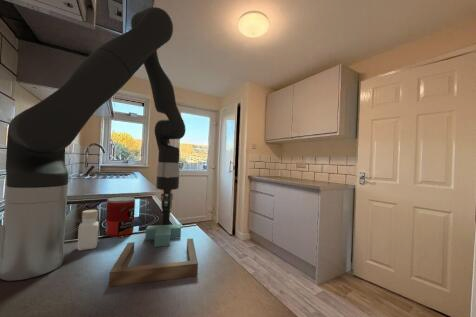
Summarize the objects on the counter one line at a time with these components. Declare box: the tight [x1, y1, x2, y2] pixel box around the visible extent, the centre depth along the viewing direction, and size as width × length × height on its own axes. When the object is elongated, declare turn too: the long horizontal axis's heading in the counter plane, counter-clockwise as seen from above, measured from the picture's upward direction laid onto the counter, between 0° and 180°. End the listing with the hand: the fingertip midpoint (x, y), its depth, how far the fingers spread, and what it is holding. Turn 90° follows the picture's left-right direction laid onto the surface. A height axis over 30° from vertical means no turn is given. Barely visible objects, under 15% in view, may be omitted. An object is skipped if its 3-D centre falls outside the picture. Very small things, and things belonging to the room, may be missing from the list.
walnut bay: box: [108, 238, 199, 287], centre depth 46 cm, size 16×14×2 cm
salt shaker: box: [76, 209, 100, 251], centre depth 53 cm, size 4×4×10 cm
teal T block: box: [145, 223, 182, 248], centre depth 61 cm, size 10×10×3 cm
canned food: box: [105, 196, 136, 238], centre depth 64 cm, size 8×8×11 cm
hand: (165, 224), depth 72 cm, fingers closed
